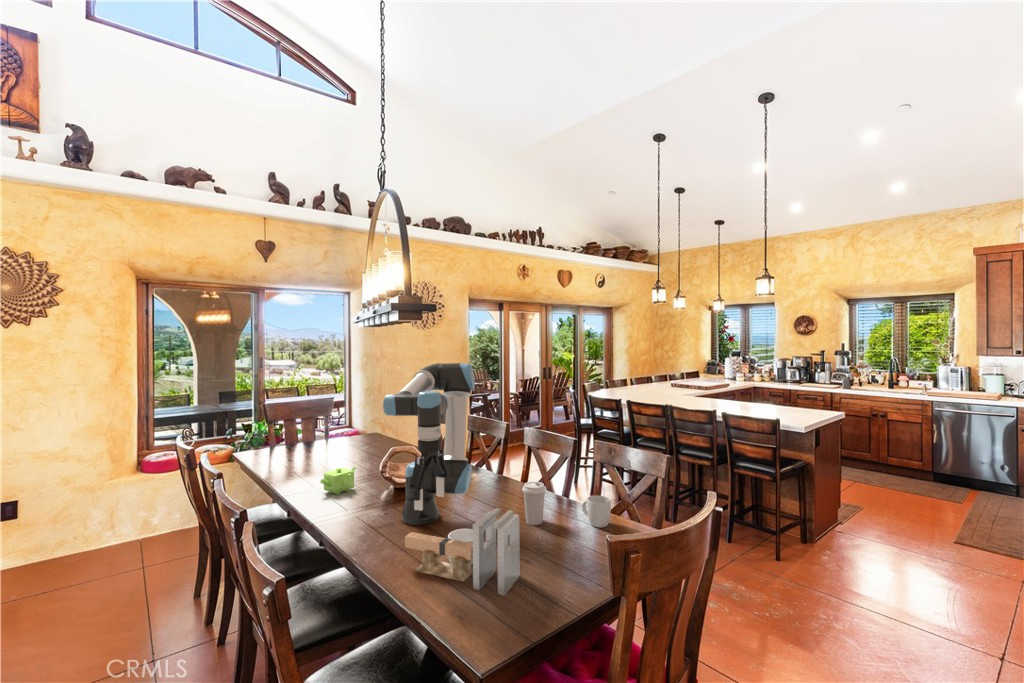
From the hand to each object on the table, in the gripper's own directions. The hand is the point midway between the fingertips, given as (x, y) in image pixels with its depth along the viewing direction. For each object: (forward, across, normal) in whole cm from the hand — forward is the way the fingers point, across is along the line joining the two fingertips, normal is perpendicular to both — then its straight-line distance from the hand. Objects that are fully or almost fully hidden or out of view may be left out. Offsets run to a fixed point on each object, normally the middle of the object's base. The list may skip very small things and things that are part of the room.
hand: (429, 502), depth 154 cm
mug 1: (+20, +7, -10) cm, 23 cm away
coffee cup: (+19, +44, -22) cm, 52 cm away
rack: (+20, -3, -8) cm, 21 cm away
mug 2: (+20, +51, -45) cm, 70 cm away
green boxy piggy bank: (+19, +47, +78) cm, 93 cm away
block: (+12, -3, -6) cm, 13 cm away
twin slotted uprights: (+20, -4, -26) cm, 33 cm away
